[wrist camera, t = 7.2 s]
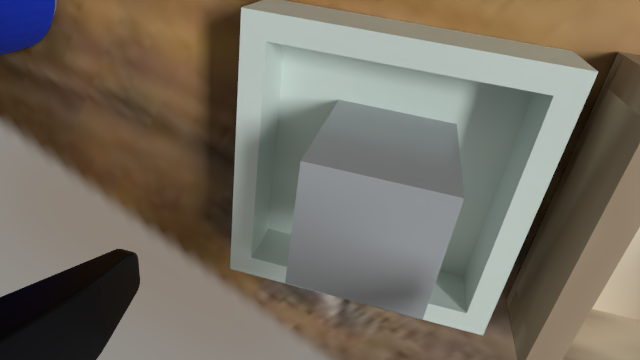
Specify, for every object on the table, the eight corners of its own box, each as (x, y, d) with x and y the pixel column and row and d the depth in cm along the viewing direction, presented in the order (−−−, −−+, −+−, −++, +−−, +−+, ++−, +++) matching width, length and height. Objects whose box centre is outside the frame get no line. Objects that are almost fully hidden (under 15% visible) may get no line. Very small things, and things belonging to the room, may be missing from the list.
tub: (573, 51, 14) (598, 71, 11) (477, 289, 18) (482, 335, 16) (269, -3, 15) (241, 7, 13) (252, 232, 20) (230, 268, 17)
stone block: (456, 124, 15) (464, 198, 11) (426, 222, 17) (422, 319, 13) (339, 99, 15) (300, 160, 11) (322, 198, 17) (285, 283, 13)
